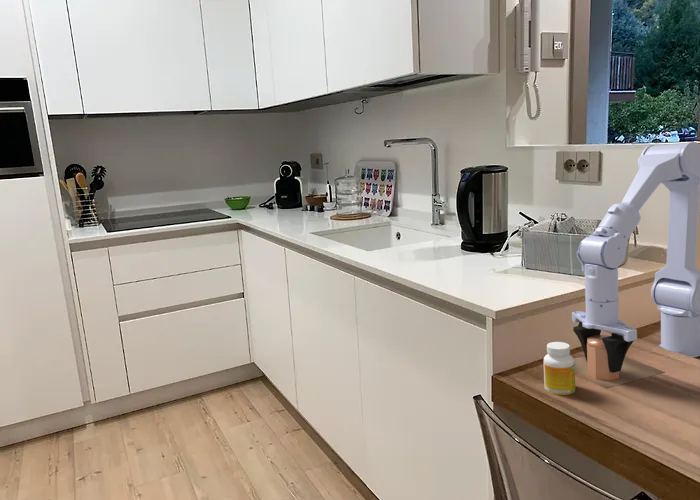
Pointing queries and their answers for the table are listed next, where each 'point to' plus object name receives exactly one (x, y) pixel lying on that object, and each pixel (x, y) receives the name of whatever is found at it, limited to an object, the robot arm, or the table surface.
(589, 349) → the faceted octagonal canister
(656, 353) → the table surface
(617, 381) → the walnut board
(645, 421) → the table surface
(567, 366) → the supplement bottle
